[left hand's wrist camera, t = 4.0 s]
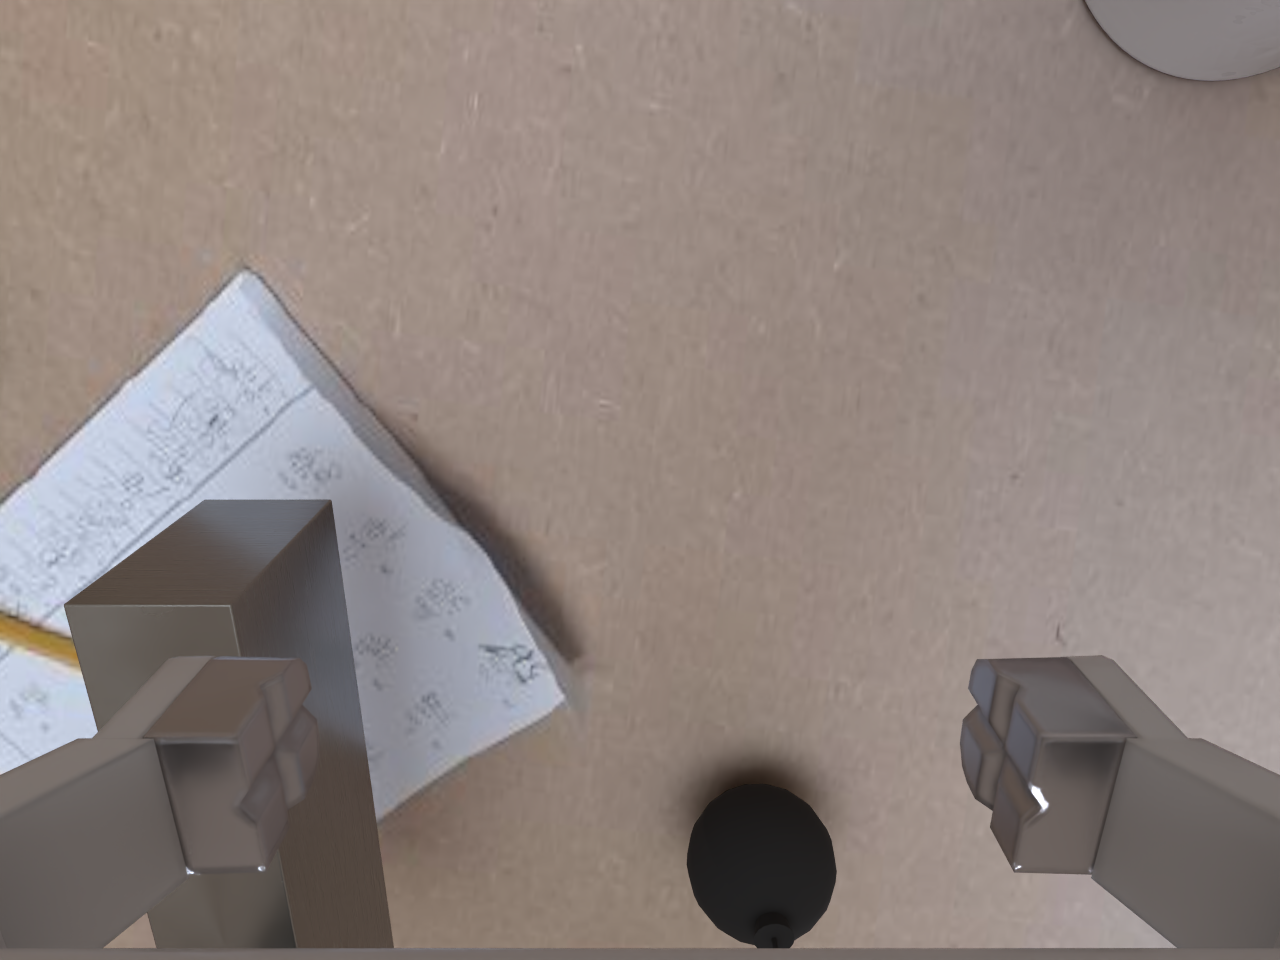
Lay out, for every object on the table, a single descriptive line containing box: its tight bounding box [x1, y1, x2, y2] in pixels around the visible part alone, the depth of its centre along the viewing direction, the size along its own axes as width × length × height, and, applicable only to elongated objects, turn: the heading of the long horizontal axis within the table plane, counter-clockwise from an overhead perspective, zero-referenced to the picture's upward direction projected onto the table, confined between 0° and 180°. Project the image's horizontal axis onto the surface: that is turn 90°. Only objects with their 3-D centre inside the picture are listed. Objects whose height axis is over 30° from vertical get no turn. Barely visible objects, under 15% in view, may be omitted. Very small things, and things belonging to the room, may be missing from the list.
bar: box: [64, 500, 394, 948], centre depth 34 cm, size 27×5×8 cm, turn 0°
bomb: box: [687, 784, 837, 948], centre depth 43 cm, size 8×8×12 cm
